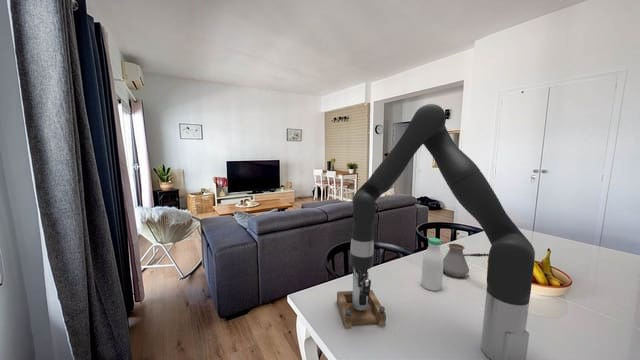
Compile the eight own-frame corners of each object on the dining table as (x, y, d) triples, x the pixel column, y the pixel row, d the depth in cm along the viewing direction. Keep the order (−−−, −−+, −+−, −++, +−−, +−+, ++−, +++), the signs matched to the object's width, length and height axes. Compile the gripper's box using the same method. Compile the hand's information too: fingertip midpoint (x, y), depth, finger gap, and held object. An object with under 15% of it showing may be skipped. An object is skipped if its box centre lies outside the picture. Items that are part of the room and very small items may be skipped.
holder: (385, 325, 81) (386, 309, 80) (345, 328, 80) (345, 311, 79) (371, 299, 95) (372, 285, 94) (336, 301, 93) (337, 287, 93)
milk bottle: (443, 292, 101) (447, 243, 98) (423, 290, 102) (426, 241, 100) (438, 282, 108) (442, 236, 106) (419, 280, 110) (422, 235, 107)
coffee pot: (434, 269, 120) (436, 238, 118) (452, 265, 124) (454, 235, 122) (477, 293, 100) (481, 257, 98) (497, 288, 105) (501, 252, 103)
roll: (369, 309, 85) (370, 280, 83) (354, 310, 84) (355, 281, 83) (365, 300, 90) (366, 272, 89) (350, 301, 89) (351, 273, 88)
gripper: (380, 260, 78) (378, 312, 80) (366, 243, 92) (364, 287, 94) (356, 261, 77) (354, 313, 79) (346, 243, 91) (344, 288, 93)
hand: (360, 299), depth 87 cm, fingers closed on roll, 5 cm apart
